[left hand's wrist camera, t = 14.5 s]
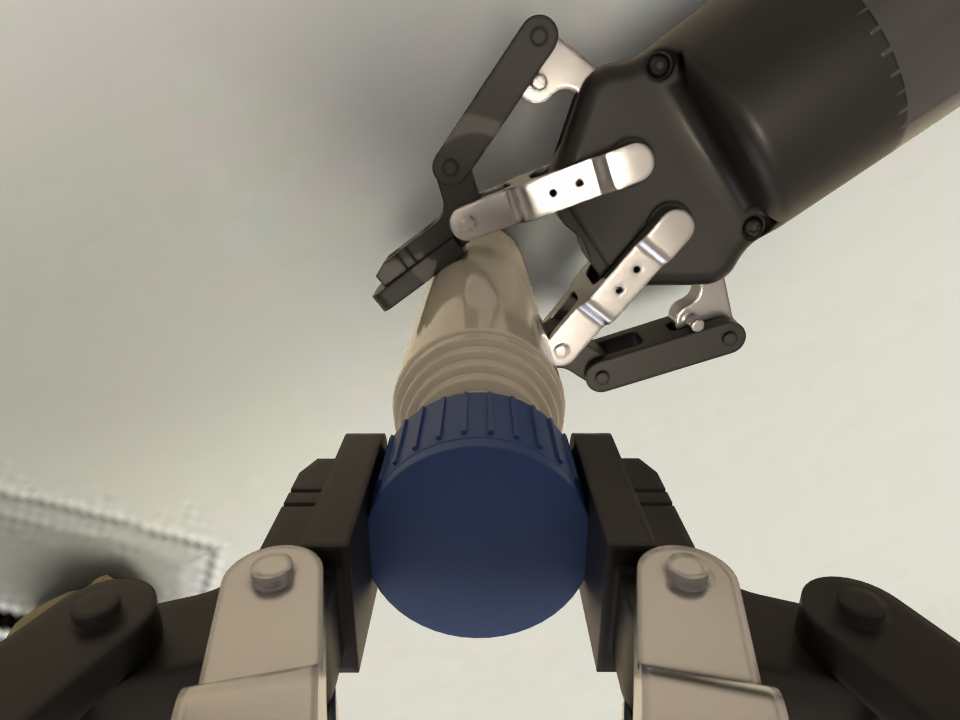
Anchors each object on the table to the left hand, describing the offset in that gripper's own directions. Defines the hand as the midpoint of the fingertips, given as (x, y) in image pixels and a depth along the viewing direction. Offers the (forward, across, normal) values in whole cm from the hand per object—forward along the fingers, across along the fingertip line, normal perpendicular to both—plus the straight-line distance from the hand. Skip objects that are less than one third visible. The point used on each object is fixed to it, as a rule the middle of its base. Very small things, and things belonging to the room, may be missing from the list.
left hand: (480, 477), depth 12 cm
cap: (-2, 0, 0) cm, 2 cm away
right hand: (+12, -2, -2) cm, 13 cm away
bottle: (+18, 0, 0) cm, 18 cm away
